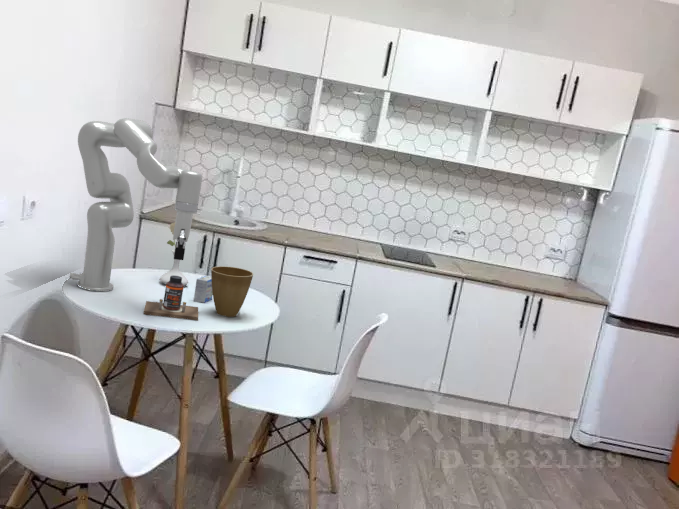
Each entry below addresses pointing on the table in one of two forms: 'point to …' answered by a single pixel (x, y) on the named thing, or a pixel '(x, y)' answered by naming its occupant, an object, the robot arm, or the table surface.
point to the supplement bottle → (173, 293)
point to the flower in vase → (175, 269)
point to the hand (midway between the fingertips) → (178, 256)
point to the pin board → (171, 311)
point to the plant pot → (229, 289)
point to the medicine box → (203, 289)
